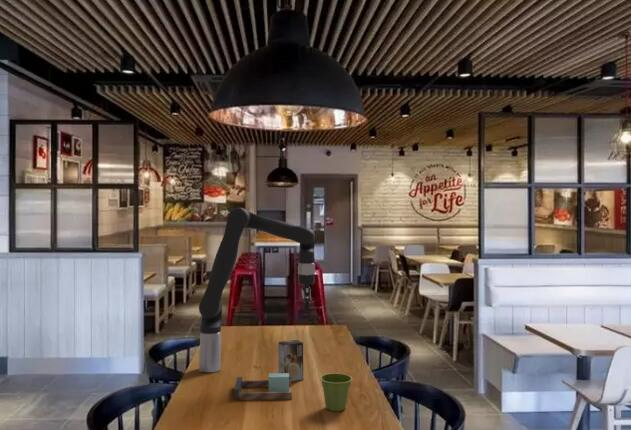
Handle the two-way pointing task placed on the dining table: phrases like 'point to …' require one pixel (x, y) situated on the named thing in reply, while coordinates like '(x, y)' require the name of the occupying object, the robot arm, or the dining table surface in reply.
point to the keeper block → (278, 382)
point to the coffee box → (291, 359)
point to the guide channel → (257, 395)
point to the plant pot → (336, 390)
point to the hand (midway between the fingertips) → (306, 309)
